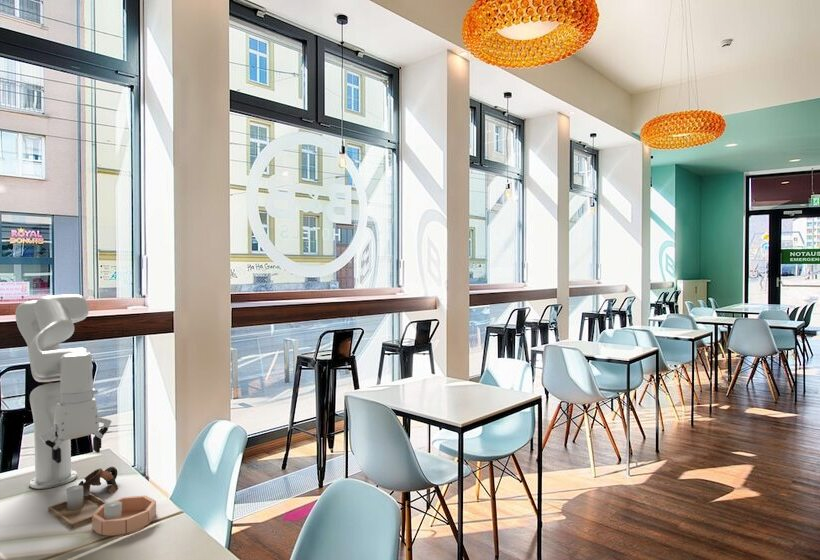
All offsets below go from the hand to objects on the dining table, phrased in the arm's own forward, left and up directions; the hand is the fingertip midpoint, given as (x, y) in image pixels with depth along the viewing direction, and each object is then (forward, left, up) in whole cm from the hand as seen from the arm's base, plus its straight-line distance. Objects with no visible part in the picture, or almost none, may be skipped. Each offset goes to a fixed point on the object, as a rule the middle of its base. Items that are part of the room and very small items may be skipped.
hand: (77, 456), depth 143 cm
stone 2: (+18, +1, -15) cm, 24 cm away
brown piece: (-8, +9, -16) cm, 20 cm away
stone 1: (-2, 0, -15) cm, 15 cm away
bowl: (+18, +4, -16) cm, 24 cm away
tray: (+3, 0, -16) cm, 16 cm away
